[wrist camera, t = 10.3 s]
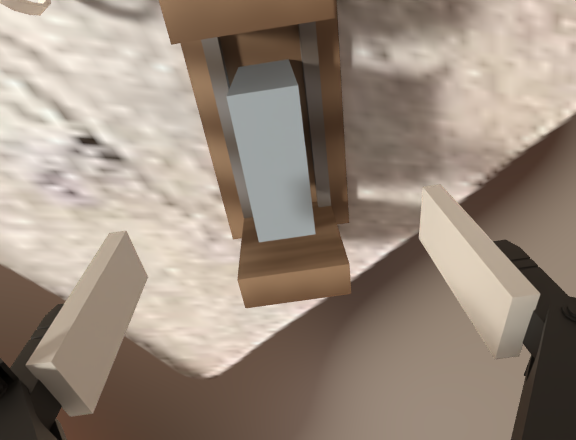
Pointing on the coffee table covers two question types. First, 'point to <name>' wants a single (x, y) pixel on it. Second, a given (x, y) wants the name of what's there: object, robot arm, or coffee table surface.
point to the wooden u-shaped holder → (316, 125)
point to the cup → (27, 6)
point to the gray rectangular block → (272, 149)
